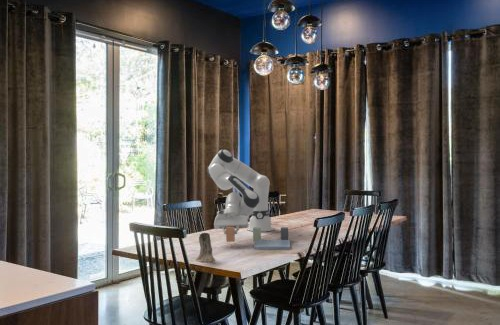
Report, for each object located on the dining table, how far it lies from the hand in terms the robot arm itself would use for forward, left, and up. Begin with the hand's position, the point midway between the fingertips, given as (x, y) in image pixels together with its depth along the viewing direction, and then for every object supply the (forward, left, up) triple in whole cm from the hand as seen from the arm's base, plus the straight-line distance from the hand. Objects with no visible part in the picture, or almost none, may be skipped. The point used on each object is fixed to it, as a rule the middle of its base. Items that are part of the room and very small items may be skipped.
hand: (230, 233), depth 256 cm
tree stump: (+33, -9, -8) cm, 35 cm away
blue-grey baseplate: (-2, +24, -7) cm, 26 cm away
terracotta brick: (-1, 0, -4) cm, 4 cm away
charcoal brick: (-17, +31, -8) cm, 37 cm away
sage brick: (-17, +14, -8) cm, 24 cm away
